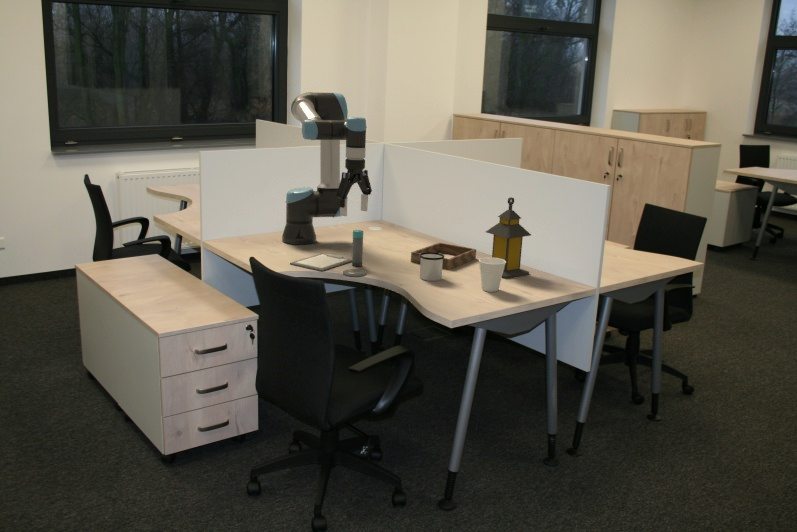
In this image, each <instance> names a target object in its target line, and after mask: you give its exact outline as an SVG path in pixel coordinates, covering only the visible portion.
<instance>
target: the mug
mask: <svg viewBox="0 0 797 532" xmlns="http://www.w3.org/2000/svg"><path fill="white" fill-rule="evenodd" d="M419 256H420V258H421V263H419V264H420V266H419V267H420V268H419V278H420V279H421V280H422V281H427V282H437V281H440V280H442V277H443V268H442V264H443V259H444V258H445V254H444V253H441V252H439V253H435V252H424V253H421V254H420V255H419Z"/></svg>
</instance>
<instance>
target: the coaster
mask: <svg viewBox="0 0 797 532" xmlns="http://www.w3.org/2000/svg"><path fill="white" fill-rule="evenodd" d="M342 275H343V276H347V277H351V278H352V277H354V278H359V277H364V275H365V276H366V275H367V271H366V270H364V269H357V268H349V269H345V270H342Z"/></svg>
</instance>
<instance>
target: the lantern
mask: <svg viewBox="0 0 797 532" xmlns="http://www.w3.org/2000/svg"><path fill="white" fill-rule="evenodd" d="M507 204H508V209H506V210H505V211H503V212H502V213H500V215H498V216H497V218H499V222H498V223H496V224H494V225H493V226H492V227H490V228H489V229H487V230H486V231H485V233H487V234H491V235H493V238H492V240H493V241H492V250H491V251H492V252H491V257H493V258H500V259H503V260H505V261H506V263H505V267H504V271H503V274H502V278H501V279H505V280H509V279H515V278H519V277H523V276H529V275H530V271H528V270H525V269H522V268H521V261H522V260H521V259H522V248H523V237H530V236H532V234H531V233H530V232H529V231H528V230H526V229H525V227H523V226H522V224H520V220H521V219H522V217H521V216H520V215H519V214H518V213H517V212H516V211H515V210H513V206H514V204H515V198H514V197H508V198H507Z"/></svg>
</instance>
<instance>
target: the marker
mask: <svg viewBox="0 0 797 532" xmlns="http://www.w3.org/2000/svg"><path fill="white" fill-rule="evenodd" d="M363 249H364V230H361V229H354V230H352V254H351V255H352V256H351V257H352V259H351V260H352V262H351V266H352V267H354V266H355V267H354V268H361V267H363Z"/></svg>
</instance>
